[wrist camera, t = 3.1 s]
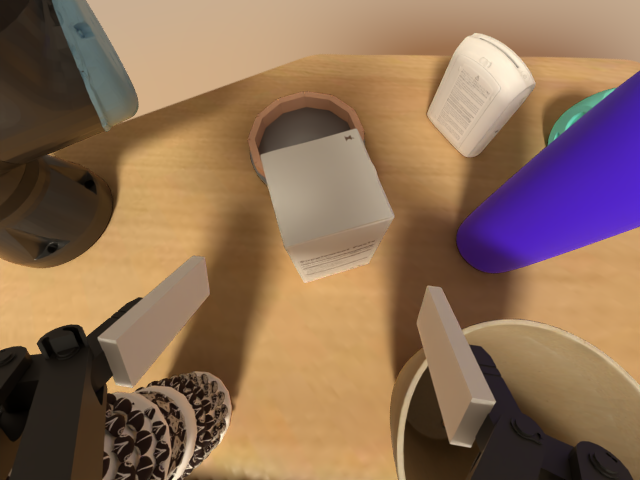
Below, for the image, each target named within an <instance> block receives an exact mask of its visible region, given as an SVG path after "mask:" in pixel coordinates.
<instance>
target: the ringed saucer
mask: <svg viewBox="0 0 640 480" xmlns="http://www.w3.org/2000/svg"><path fill="white" fill-rule="evenodd" d="M257 116H258V117H256V118H255V121H254V123H253V126H252V129H251V131H250V134H249V137H248V143H249V147H250V157H251V162H252V164H253V167H254V169H255V171H256V173H257V175H258V177H259V178H260V179H261V180H262V182H263V183H264V184H265V185H266V186H268V185H267V181H266V177H265V173H264V169H263V165H262V161H261V157H260V155H261V154H264V153H268V152H271V151H274V150H278V149H281V148H285V147H289V146H293V145H298V144H302V143H305V142H309V141H313V140H317V139H320V138H324V137H328V136H331V135H335V134H338V133H342V132H345V131H349V130H352V129H357V130H358V132H359V134H360V136H361V138H362V141H363V143H364V146H365V140H364V134H365V133H364V129H363V127H362V125H361V122H360V120H359V118H358V116H357V114H356V112H355V110H354V109H353V108H352V107H350V106H349V105H347V104H346V103H344V102H343V101H341V100H339V99H338V98H336V97H335V96H332V97H331V95H330V94H322V93H315V92H308V91H305V93H304V91H303V92H299V93H296V94H292V95H288V96H285V97H281V98H278V100H277V99H276V100H275V101H274V102H272V103H271V104H270V105H269V106H268V107H266V108H265V109H264V110H263V111H262V112H260V113H259V114H258V115H257Z"/></svg>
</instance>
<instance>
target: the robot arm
mask: <svg viewBox="0 0 640 480" xmlns="http://www.w3.org/2000/svg"><path fill="white" fill-rule="evenodd" d="M137 110H138V98H137V95H136V92H135V89H134V87H133V85H132V82H131V80H130V78H129V76H128V74H127V72H126V70H125V68H124V67H123V64H122V63H121V61H120V59H119V57H118V55H117V53H116V51H115V50H114V48H113V46H112V44H111V42H110V40H109V39H108V37H107V35H106V33H105V32H104V30H103V28H102V26H101V25H100V23H99V21H98V20H97V18H96V16H95V15H94V13H93V11H92V10H91V8H90V6H89V5H88V3H87V1H86V0H0V258H2V259H4V260H6V261H8V262H11V263H15V264H19V265H23V266H28V267H33V268H48V267H54V266H58V265H61V264H64V263H66V262H68V261H70V260H72V259H74V258H76V257H78V256H79V255H81V254H82V253H83V252H85V251H86V250H87V249H88V248H90V247H91V246H92V245H93V244H94V243H95V242H96V240H97V239H98V238H99V237H100V235H101V234H102V233H103V231H104V229H105V228H106V226H107V224H108V222H109V219H110V216H111V212H112V205H113V201H112V194H111V191H110V189H109V187H108V185H107V184H106V182H105V181H104V180H103V179H102V178H100V177H99V176H97V175H96V174H94V173H93V172H91V171H90V170H88V169H87V168H85V167H83V166H81V165H78V164H75V163H72V162H69V161H65V160H62V159H59V158H56V157H53V156H50V155H47V154H50V153H52V152H55V151H57V150H60V149H62V148H64V147H67V146H69V145H72V144H74V143H76V142H79V141H81V140H84V139H86V138H88V137H91V136H93V135H96V134H98V133H100V132H103V131H106V132H107V131H109V130H110V129H111V127H113V126H115V125H117V124H119V123H121V122H123V121H125V120H127V119H129V118H131V117H133V116H134V115H135V114H136V112H137ZM209 295H210V290H209V283H208V275H207V268H206V261H205V257H201V256H192V257H191V258H190V259H188V260H187V261H186V262H185V263H184V264H183V265H181V266H180V267H179V268H178V269H177V270H176V271H174V272H173V273H172V274H171V275H170V276H169V277H167V278H166V279H165V280H164V281H163V282H162V283H160V284H159V285H158V286H157V287H156V288H155V289H153V290H152V291H151V292H150V293H149V294H148V295H146V296H145V297H144V298H140V297H139V298H137V299H135V300H133V301H131V302H129V303H127V304H126V305H124V306H123V307H122V308H121V309H120V310H118V312H116V313H115V314H113V315H112V316H111V318H109V319H107V320H106V321H105V322H104V323H103V324H101V325H100V326H99V327H98V328H96V329H95V330H94V331H93V332H92V333H90V334H89V335H88V336H87V337H86V335H85V333H84V330H83V328H82V327H81V326H79V325H66V326H62V327H59V328H56V329H54V330H52V331H50V332H48V333H46V334H45V335H44V336H43V337H41V338H40V339H39V341H38V342H37V345H38V347H39V349H40V351H41V353H42V354H36V355H30V354H29V353H28V351H27V349H26V348H25V347H22V346H16V347H10V348H6V349H3V350H0V480H6V478H7V477H8V475H9V473H10V471H11V470H12V471H11V474H10V478H9V480H102V473H103V455H104V438H105V421H106V404H107V385H106V382H107V381H108V380H109V379H110V378H111V377H112V376H113V378H114V381H115V383H116V385H119V386H125V387H130V388H133V387H134V386H135V385H136V383H137V382H138V381H139V380H140V379H141V377H142V376H143V375H144V374H145V372H146V371H147V370H148V369H149V368H150V366H151V365H152V364H153V363H154V362H155V360H156V359H157V358H158V357H159V355H160V354H161V353H162V352H163V351H164V349H165V348H166V347H167V346H168V345H169V343H170V342H171V341H172V340H173V338H174V337H175V336H176V335H177V334H178V332H179V331H180V330H181V329H182V328H183V326H184V325H185V324H186V323H187V321H188V320H189V319H190V318H191V317H192V315H193V314H194V313H195V312H196V310H197V309H198V308H199V307H200V306H201V304H202V303H203V302H204V301H205V300H206V298H207V297H208V296H209ZM416 324H417V327H418V331H419V334H420V338H421V342H422V345H423V349H424V352H425V356H426V360H427V363H428V367H429V371H430V374H431V378H432V381H433V385H434V389H435V392H436V396H437V399H438V403H439V407H440V410H441V414H442V418H443V421H444V425H445V428H446V432H447V436H448V439H449V443H450V444H452V445H458V446H464V447H469V448H471V446H472V444H473V442H474V441H475V439H476V441H477V444H478V447H479V449H480V452H479V453H478V455H477V457H476V458H475V460H474V462H473V464H472V465H471V466H472V467H471V469H470V471H469V473H468V475H467V478H466V480H633V478H632V476H631V474H630V472H629V470H628V469H627V468H626V467H625V466H624V465H623V463H622V462H621V461H620V460H619V459H618V458H616V457H615V456H614V455H613V454H612V453H611V452H609V451H608V450H606V449H604V448H603V447H601V446H600V445H597V444H595V443H592V442H589V441H581V442H579V443H578V444H577V445H576V446H575V447H573V446H571V445H568V444H566V443H564V442H562V441H559V440H557V439H555V438H553V437H550V436H548V435H547V434H545V433H544V432H543V430H542V429H541V428H540V427H539V425H538V424H537V423H536V422H535V421H534V420H532V419H531V418H530V417H529V416H527V415H525V414H523V413H522V412H521V411H520V409H519V407H518V405H517V403H516V401H515V400H514V398H513V396H512V394H511V392H510V390H509V389H508V387H507V385H506V383H505V381H504V379H503V378H502V377H501V374H500V372H499V370H498V369H497V368H496V365H495V363H494V361H493V359H492V357H491V356H490V355H489V354H488V353H487V352H486V351H485V350H484V349H483V348H482V347H481V346H476V345H469V344H468V342H467V340H466V338H465V336H464V334H463V332H462V330H461V327H460V325H459V323H458V321H457V319H456V317H455V315H454V313H453V311H452V309H451V307H450V304H449V302H448V300H447V298H446V296H445V294H444V292H443V290H442V288H441V287H436V286H428V285H427V288H426V292H425V295H424V298H423V302H422V305H421V309H420V312H419V315H418V319H417V322H416Z"/></svg>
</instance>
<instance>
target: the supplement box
mask: <svg viewBox="0 0 640 480" xmlns="http://www.w3.org/2000/svg"><path fill="white" fill-rule="evenodd" d="M260 157H261V161H262V165H263V169H264V173H265V177H266V181H267V185H268V189H269V193H270V196H271V200H272V204H273V208H274V211H275V215H276V219H277V223H278V226H279V230H280V233H281V237H282V241H283V244H284V247H285V249H286V251H287V253H288V254H289V256H290V258H291V260H292V262H293V263H294V265H295V267H296V269H297V271H298V273H299V274H300V276H301V278H302V280H303V281H304V283H307V282H311V281H314V280H317V279H321V278H324V277H327V276H330V275H334V274H337V273H340V272H343V271H347V270H350V269H353V268H356V267H360V266H363V265H366V264H369V262H370V260H371V258H372V256H373V255H374V253H375V251H376V249H377V247H378V245H379V244H380V242H381V240H382V238H383V236H384V234H385V233H386V231H387V229H388V227H389V225H390V224H391V222H392V220H393V219H394V217H395V216H394V213H393V211H392V208H391V206H390V204H389V201H388V199H387V197H386V194H385V192H384V190H383V188H382V185H381V183H380V180H379V178H378V175H377V171H376V169H375V167H374V165H373V163H372V162H371V159H370V157H369V155H368V153H367V150H366V148H365V146H364V143H363V141H362V138H361V136H360V134H359V132H358V130H357V129H352V130H349V131H345V132H342V133H338V134H335V135H331V136H328V137H324V138H320V139H317V140H313V141H309V142H305V143H302V144H298V145H293V146H289V147H285V148H281V149H278V150H274V151H271V152H268V153H264V154H261V155H260Z"/></svg>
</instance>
